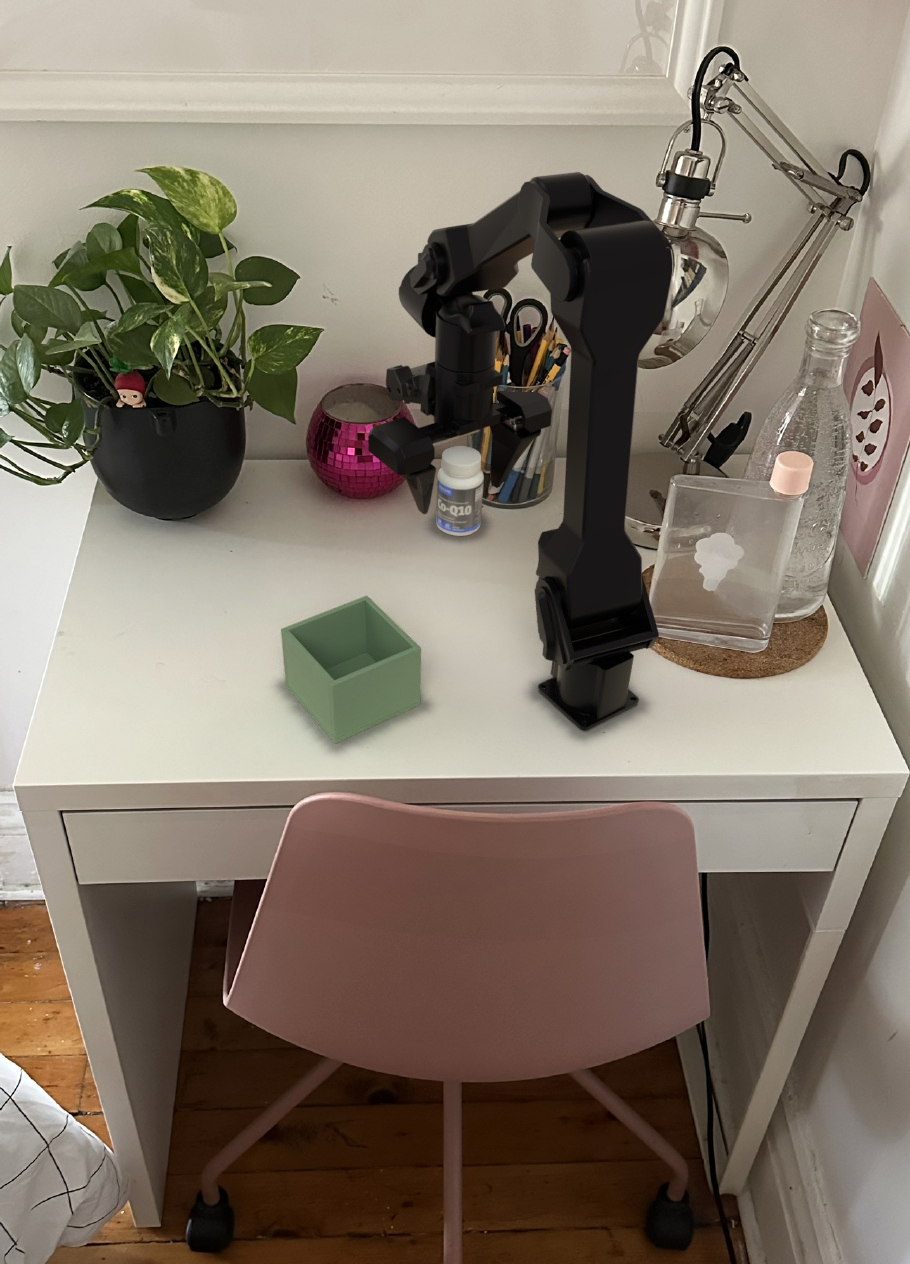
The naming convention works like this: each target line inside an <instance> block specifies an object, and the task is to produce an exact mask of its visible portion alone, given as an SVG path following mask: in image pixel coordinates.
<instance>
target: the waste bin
mask: <svg viewBox="0 0 910 1264" xmlns="http://www.w3.org/2000/svg"><path fill="white" fill-rule="evenodd" d="M280 634H281V646H282V647H281V648H282V657H283V658H282V659H283V668H284V670H283V671H284V681H285V687H286V688H287V689H288V690H289V692H290V693H291V694H292V696H293V697H294V698H295V699H296V700H297V701H298V702H299V703H300V704H301V706H302V707H303V708H304V709H305V710H306V711H307V713H308V714H309V715H310V716H311V717H312V718H313V720H314V721H315V722H316V723H317V724H318V726H319V727H320V728H321V729H322V730H323V731H324V732H325V734H326V735H328V737H329V738H330V740H332V742H333V743H334V744H338V743H340V742H342V741H344V740H347V739H349V738H351V737H353V736H356V735H358V734H360V733H362V732H365V731H366V730H369V729H371V728H373V727H375V726H378V725H379V724H382V723H384V722H386V721H388V720H390V719H392V718H395V717H397V716H400V715H402V714H404V713H406V712H408V711H410V710H412V709H415V708H417V707H419V706H421V680H422V679H421V675H422V672H421V671H422V648H421V646H420V645H419V644H418V643H416V641H414V639H412V637H410V636H409V635H408V633H406V631H404V630H403V629H402V628H401V626H399V625H398V624H397V622H395V621H394V620H393V619H392V618H391V617H390V616H389V615H388V614H387V613H386V612H385V611H384V610H383V609H382V608H381V607H380V606H378V604H376V602H375V601H374V600H372V599H371V598H370V596H368V595H363V596H361V597H359V598H357V599H354V600H351V601H349V602H346V603H344V604H341V605H339V606H336V607H333V608H331V609H328V610H326V611H323V612H320V613H318V614H316V615H313V616H311V617H308V618H305V619H303V620H300V621H298V622H295V623H292V624H290V625H287V626H285V627H282V628H281V629H280Z"/></svg>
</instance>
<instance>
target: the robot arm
mask: <svg viewBox="0 0 910 1264" xmlns="http://www.w3.org/2000/svg"><path fill="white" fill-rule="evenodd" d="M426 243H427V244H425V245H424V247H423V249H422V252H418V253H417V264H416V265H414V266H413V267H411V268H410V269H409V270H408V272H406V273H405V275H404V277H403V278H402V280H401V283H400V286H399V287H398V299H399V302H400V304H401V306H402V308H403V309H404V310H405V311H406V312H407V313H408V315H409V316H410V317H411V318H412V319H413V320H414V321H415V322H416V323H417V324H418V325H419V327H420V329H422V330H423V331H424V332H425V333H426V334H427V335H428V336H430V337H432V338H434V339H435V341H434V346H435V347H434V348H435V349H434V361H432V362H428V363H424V364H421V365H417V366H414V367H410V366H409V365H402V364H399V365H396V366H392V367H389V368H386V374H385V377H386V378H385V387H386V393H387V396H388V397H389V399H390V400H391V401H397V402H398V401H399V402H403V403H404V404H405V405H409V404H418V405H420V412H421V413H423V414H424V415H425V416H426V417H428V416H432V417H433V423H430V424H426V425H424V426H420V427H418V426H417V425H415V424H414V423H413V422H412V421H411V420H409V419H408V418H406V416H403V417H399V418H396V419H392V420H389V421H387V422H384V423H383V422H382V423H380V424H377V425H375V426H373V427H372V428H370V430H369V433H368V436H367V440H368V441H367V442H368V443H367V445H368V448H367V449H368V452H369V453H370V454H372V455H373V456H374V457H375V458H376V459H378V461H380V462H381V463H383V465H385V466H386V467H388V468H389V470H391V471H392V472H393V473H395V475H399V476H403V477H404V478H405V481H406V483H407V486H408V487H409V490H410V493H411V495H412V498H413V500H414V503H415V506H416V507H417V510H418V512H420V513H421V514H422V515H427V514H428V512H429V510H430V506H431V502H432V495H433V491H434V490H433V489H434V483H435V478H436V472H437V467H436V466H435V465H433V464H432V463H433V461H434V460H435V457H436V456H435V455H436V454H435V453H436V452H435V451H436V448H435V447H436V446H440V445H442V444H446V443H449V442H452V441H454V440H455V441H456V440H457V439H461V438H464V437H468V436H470V435H473V434H476V433H480V432H481V430H483V429H485V428H488V427H489V429H490V433H491V447H490V448H491V449H490V451H491V452H490V469H489V470H490V484H491V485H492V487H494V488H495V489H499V488H500V487H502V485H503V483H504V482H505V480H506V479H507V477H508V476H509V474H510V473H511V471H512V469H514V468H515V467H514V466H515V465H516V464H517V462H518V461H519V459H520V458H521V457H522V455H523V454H524V453H525V451H526V450H527V449H528V447H529V446H530V445H531V444H532V443H533V441H534V440H535V439H536V438H538V437H540V436H541V434H542V430H543V429H546V428H549V427H552V420H553V410H554V409H553V408H554V407H553V405H552V402H551V400H550V399H549V398H548V397H547V396H545V395H544V394H542V393H540V392H539V391H537V392H510V391H509V392H508V391H498V392H497V400H498V401H499V403H493V393H494V389H495V388H497V387H500V386H503V384H504V383H503V382H504V374H503V373H501V372H500V371H498V370H497V369H496V356H497V355H496V354H497V339H498V338H497V337H498V332H502V331H504V330H505V329H506V323H505V320H504V318H503V316H502V314H500V312H499V310H498V309H497V307H495V304H494V302H493V301H492V300H488V299H486V298H485V297H483V296H481V295H478V294H474V293H478V292H485V291H493V290H498V289H505V288H506V287H507V286H508V285H509V284H510V283H511V281H512V280H514V278H515V277H516V276H517V275H518V273H519V272H520V269H519V263H518V262H520V261H522V260H523V259H525V258H527V257H528V256H531V255H532V256H531V263H530V266H531V269H532V270H533V272H534V273H535V275H536V276H537V277H538V279H539V280H540V281H541V283H542V285H544V287H545V288H546V290H547V291H548V293H549V299H550V313H551V316H552V318H553V319H554V320H555V323H556V324H557V325H558V327H559V329H560V331H561V332H562V334H563V336H564V337H565V339H566V341H567V343H568V344H569V346H570V371H569V391H568V411H567V431H566V432H567V435H566V454H565V472H564V473H565V474H564V475H565V476H564V494H563V496H564V497H563V514H562V515H563V516H562V521H561V523H560V524H559V526H558V528H554V529H549V530H544V531H542V532H541V533H540V535H539V538H538V541H537V551H538V554H537V555H538V559H537V560H538V562H537V567H536V571H535V576H537V578H538V579H537V581H536V583H535V588H534V601H535V612H536V623H537V633H538V638H539V640H540V642H541V643H542V644H543V645H542V656H543V658H544V660H548V661H550V662H551V669H550V676H552V677H551V678H549V679H547V680H544V681H542V682H541V683H539V684H538V685H537V691H538V693H540V695H542V696H543V697H544V698H545V699H546V700H547V701H548V702H549V703H551V704H552V705H553V706H554V707H555V708H556V709H557V710H558V711H559V712H560V713H561V714H562V715H563V716H565V717H566V718H567V719H568V721H570V722H571V723H573V725H575V726H576V727H577V728H578V729H579V730H581V731H582V732H586V731H589V730H591V729H593V728H596V727H598V726H599V725H601V724H603V723H605V722H607V721H609V720H611V719H613V718H614V717H617V716H618V715H621V714H623V713H625V712H627V711H629V710H630V709H633V708H634V707H636V706H638V705H639V701H640V698H639V697H638V695H636V694H635V693H634V692H633V691H631V690H630V689H629V687H630V681H631V675H632V670H633V665H634V664H633V663H634V657H635V655H634V654H633V653H632V652H636V651H641V650H645V649H646V650H648V649H651V648H653V647H654V645H655V644H656V642H657V641H658V639H659V636H660V633H659V630H658V625H657V622H656V619H655V616H654V615H655V614H654V612H653V611H654V610H653V607H652V604H651V600H650V598H649V597H650V596H649V594H648V590H647V586H646V583H645V579H644V576H643V559H642V558H643V557H642V555H641V554H640V552H639V550H638V549H637V547H636V545H635V544H634V542H633V541H632V539H631V537H630V536H629V534H628V532H627V531H626V518H627V517H626V516H627V507H628V506H627V504H628V492H629V480H630V471H631V470H630V469H631V468H630V467H631V456H632V446H633V445H632V443H633V434H634V433H633V432H634V431H633V430H634V421H635V409H636V408H635V407H636V394H637V384H638V372H639V359H640V354H641V353H642V351H643V350H644V348H645V346H647V344H648V342H649V340H650V339H651V338H652V336H653V335H654V333H655V332H656V330H657V329H658V327H659V326H660V325H661V323H662V321H663V320H664V318H665V316H666V311H667V306H668V303H669V302H668V301H669V296H670V291H671V286H672V281H673V276H674V272H675V266H676V261H675V252H674V249H673V246H672V243H671V242H670V240H669V238H667V236H666V235H665V234H664V233H663V232H662V231H661V230H660V228H659V226H657V224H656V223H654V221H653V219H651V218H650V216H648V214H647V213H646V212H645V211H644V209H642V208H641V207H638V206H636V205H634V204H632V203H630V202H628V201H626V200H624V199H621V198H620V197H618V196H615V194H612V193H610V192H607V191H606V190H604V189H602V187H601V186H600V185H599V184H598V182H596V180H595V179H594V178H593V177H592V176H590V175H589V174H584V173H583V172H580V171H576V172H565V173H557V174H549V175H540V176H534V177H532V178H531V179H530V180H529V181H524V182H523V184H522V185H521V186H520V190H519V191H517V192H516V193H515V194H512V196H509V198H508V199H506V200H504V201H503V202H502V203H500V204H498V205H497V206H496V207H495V208H493V209H491V210H489V212H487V213H486V214H485V215H483V216H482V217H480V218H479V219H478V220H476V221H475V222H472V223H466V224H460V225H452V226H447V227H441V228H436V229H433V230H432V231H431V233H430V234H429V235H428V238H427V242H426Z"/></svg>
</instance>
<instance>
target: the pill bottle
mask: <svg viewBox="0 0 910 1264" xmlns="http://www.w3.org/2000/svg"><path fill="white" fill-rule="evenodd" d="M440 466H441V467H440V468H439V469H438V472H437V476H436V477H437V478H436V479H437V481H436V507H435V508H436V511H435V512H436V513H435V524H436V526H437V528H438V529H439V530H440V531H441V532H443V533H445V534H447V535H450V536H455V537H466V536H469V535H472V534H474V533H476V532H477V531H478V530H479V529H480V528H481V523H482V512H483V511H482V510H483V509H482V508H483V495H484V481H485V476H484V472H483V471H482V454H481V453H480V452H479V451H478V450H477V449H476V448H473V447H471V446H467V445H466V446H465V445H454V446H450V447H448V448H446V449H445V450H443V452H442V454H441V462H440Z"/></svg>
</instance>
